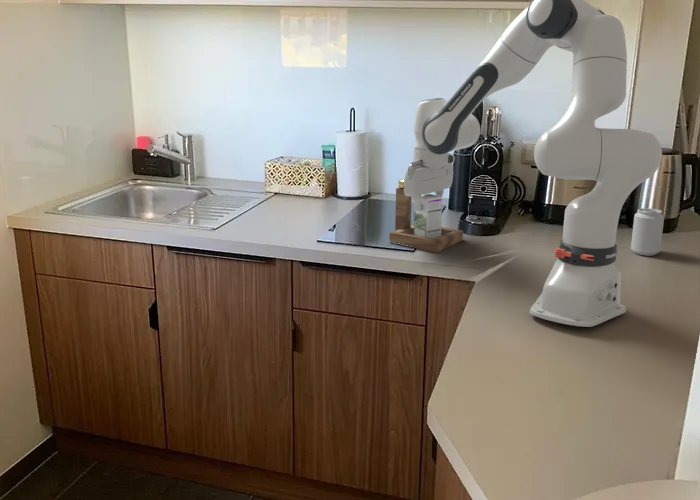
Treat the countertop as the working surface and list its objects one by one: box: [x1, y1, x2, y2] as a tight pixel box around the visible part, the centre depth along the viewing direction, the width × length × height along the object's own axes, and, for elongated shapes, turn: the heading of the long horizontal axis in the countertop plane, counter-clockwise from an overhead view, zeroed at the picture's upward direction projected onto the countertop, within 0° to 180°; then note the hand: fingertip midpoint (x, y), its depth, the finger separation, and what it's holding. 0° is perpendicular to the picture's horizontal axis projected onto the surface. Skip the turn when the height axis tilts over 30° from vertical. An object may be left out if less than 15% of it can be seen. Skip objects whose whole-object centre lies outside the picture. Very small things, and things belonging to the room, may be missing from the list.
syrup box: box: [413, 193, 443, 238], centre depth 199 cm, size 6×6×14 cm
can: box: [630, 207, 665, 257], centre depth 194 cm, size 8×8×12 cm
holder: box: [388, 187, 464, 254], centre depth 201 cm, size 15×17×16 cm
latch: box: [397, 178, 405, 188], centre depth 207 cm, size 15×3×2 cm, turn 146°
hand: (427, 208), depth 199 cm, fingers open, 8 cm apart
